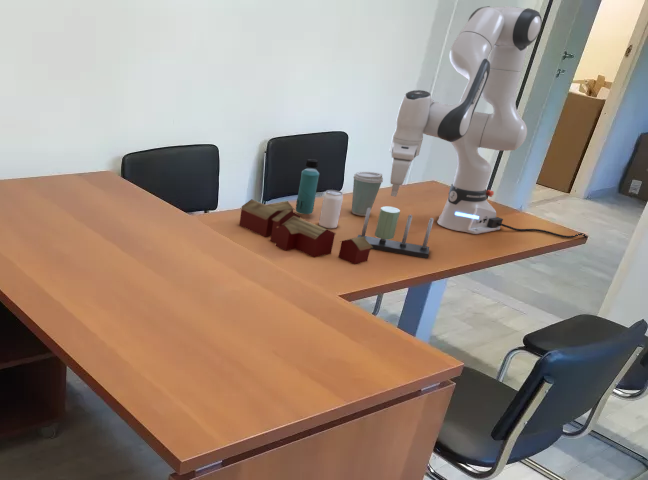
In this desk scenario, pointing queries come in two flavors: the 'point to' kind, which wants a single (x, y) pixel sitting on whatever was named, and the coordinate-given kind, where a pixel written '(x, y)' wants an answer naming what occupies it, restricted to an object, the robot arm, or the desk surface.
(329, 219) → the can
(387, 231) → the cup
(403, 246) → the dish rack
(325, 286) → the desk surface
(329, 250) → the toy houses
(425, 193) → the desk surface
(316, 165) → the beverage bottle
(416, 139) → the robot arm
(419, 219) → the desk surface
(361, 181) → the disposable coffee cup
